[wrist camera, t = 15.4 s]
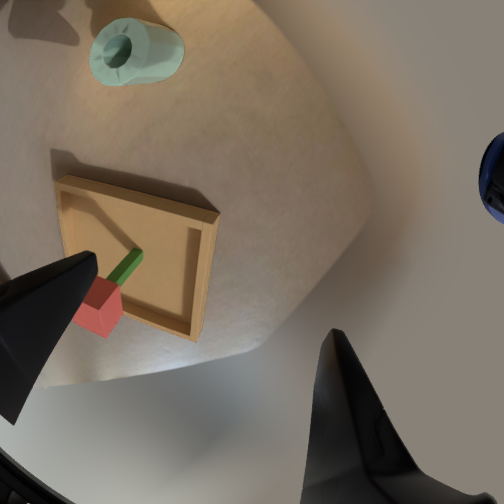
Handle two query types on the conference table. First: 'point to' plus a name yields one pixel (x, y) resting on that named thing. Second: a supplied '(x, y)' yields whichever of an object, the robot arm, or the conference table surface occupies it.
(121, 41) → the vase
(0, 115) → the conference table surface
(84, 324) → the cube with green stem
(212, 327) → the conference table surface
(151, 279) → the tray
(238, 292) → the conference table surface
